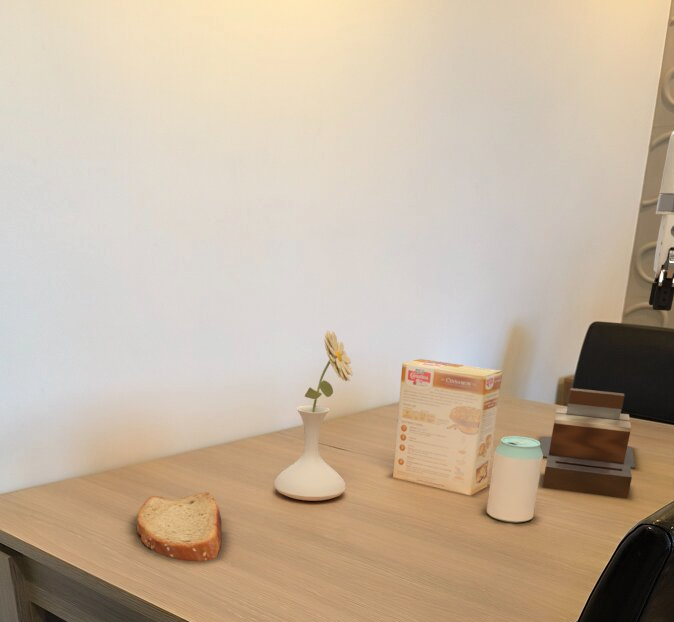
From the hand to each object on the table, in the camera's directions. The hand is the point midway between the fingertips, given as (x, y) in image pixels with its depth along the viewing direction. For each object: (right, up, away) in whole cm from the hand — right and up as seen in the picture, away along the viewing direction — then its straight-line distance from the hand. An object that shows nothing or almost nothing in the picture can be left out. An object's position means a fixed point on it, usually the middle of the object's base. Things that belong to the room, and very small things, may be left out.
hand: (659, 307), depth 155 cm
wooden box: (-11, -26, +9) cm, 29 cm away
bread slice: (-81, -45, -40) cm, 101 cm away
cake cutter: (-11, -25, +9) cm, 29 cm away
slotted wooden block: (-18, -35, -12) cm, 41 cm away
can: (-34, -42, -28) cm, 61 cm away
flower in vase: (-64, -38, -22) cm, 78 cm away
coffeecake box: (-43, -35, -13) cm, 57 cm away
